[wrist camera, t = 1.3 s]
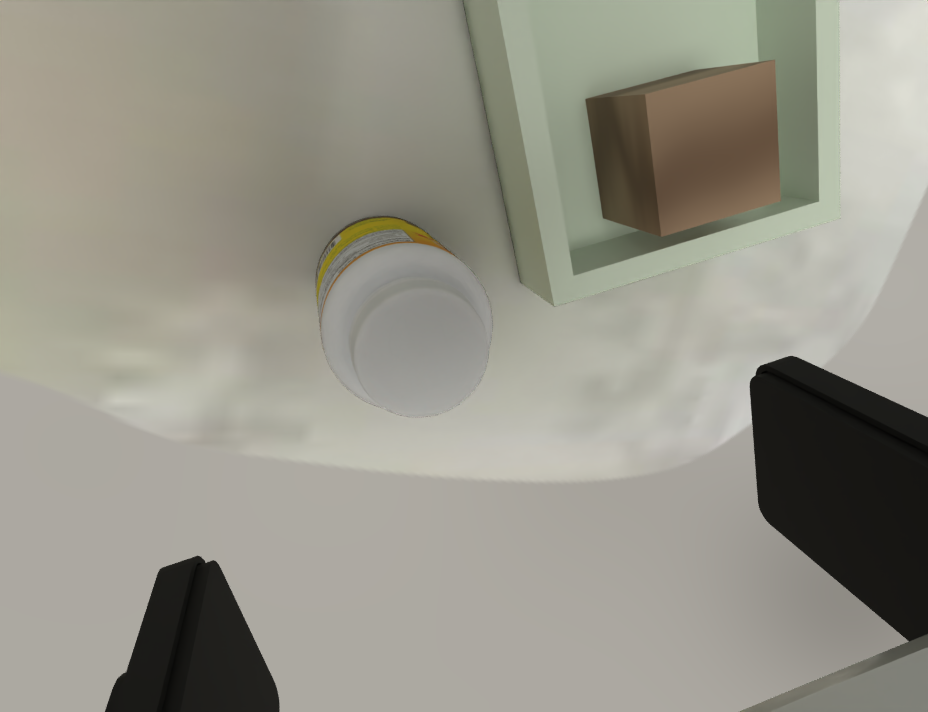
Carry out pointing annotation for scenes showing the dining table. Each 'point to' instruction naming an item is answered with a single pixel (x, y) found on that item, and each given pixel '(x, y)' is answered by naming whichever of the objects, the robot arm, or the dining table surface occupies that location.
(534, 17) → the tote
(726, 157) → the walnut block
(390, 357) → the supplement bottle
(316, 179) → the dining table surface
